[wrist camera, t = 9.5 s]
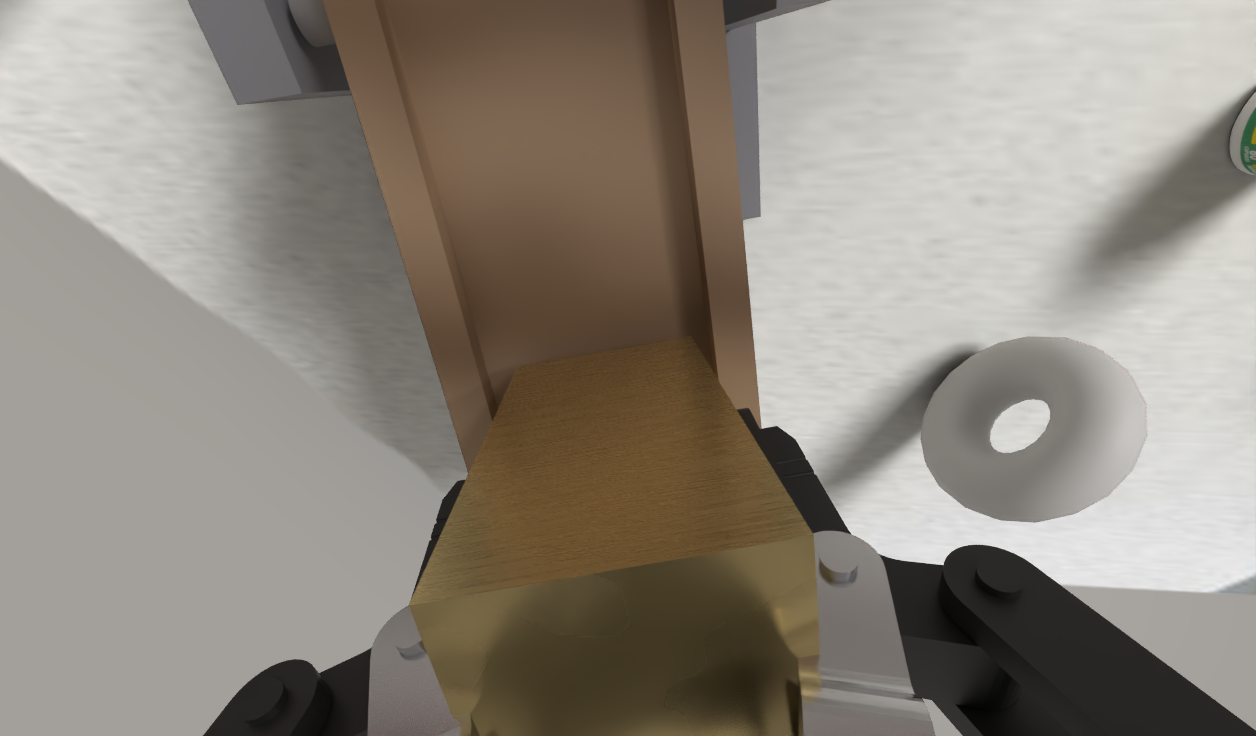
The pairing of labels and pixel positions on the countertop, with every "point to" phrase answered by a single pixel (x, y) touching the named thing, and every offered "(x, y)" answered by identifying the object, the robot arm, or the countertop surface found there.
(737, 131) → the pivot stand
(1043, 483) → the donut
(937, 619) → the robot arm
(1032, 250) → the countertop surface
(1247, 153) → the supplement bottle
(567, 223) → the beam
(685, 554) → the rider
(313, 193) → the countertop surface
